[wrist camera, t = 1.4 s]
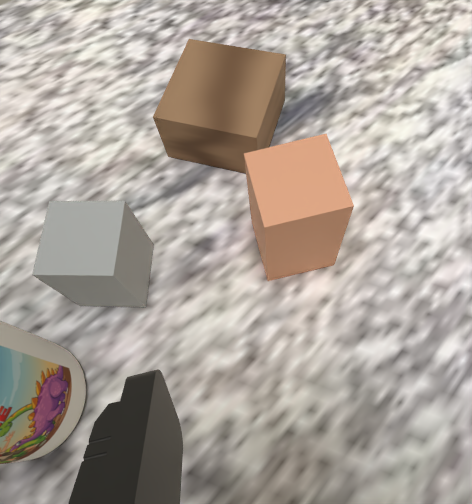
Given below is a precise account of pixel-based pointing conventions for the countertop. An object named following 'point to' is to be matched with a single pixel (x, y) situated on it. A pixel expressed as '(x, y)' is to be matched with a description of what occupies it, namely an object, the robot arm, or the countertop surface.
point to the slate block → (95, 253)
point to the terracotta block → (297, 205)
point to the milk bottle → (36, 395)
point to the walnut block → (221, 104)
